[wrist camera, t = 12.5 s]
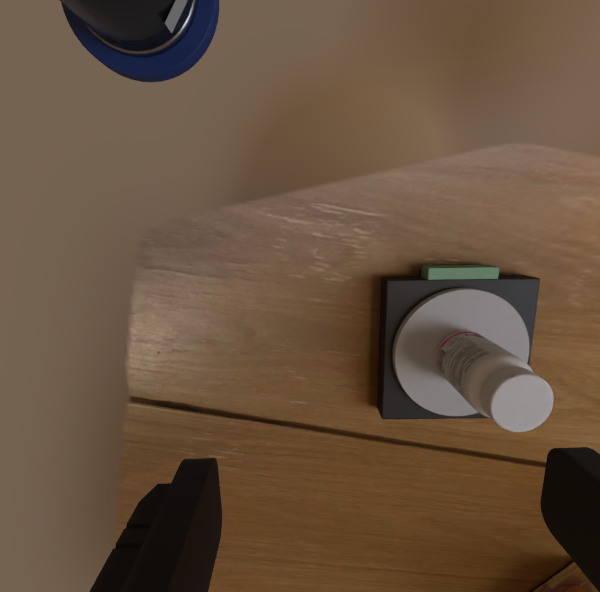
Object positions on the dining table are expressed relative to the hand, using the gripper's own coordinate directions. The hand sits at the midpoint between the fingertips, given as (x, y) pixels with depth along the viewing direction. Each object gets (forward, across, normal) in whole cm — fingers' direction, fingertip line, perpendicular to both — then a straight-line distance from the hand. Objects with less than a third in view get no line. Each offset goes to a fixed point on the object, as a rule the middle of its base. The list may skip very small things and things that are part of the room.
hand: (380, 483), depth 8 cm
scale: (+24, -12, +6) cm, 27 cm away
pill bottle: (+21, -12, +6) cm, 25 cm away
